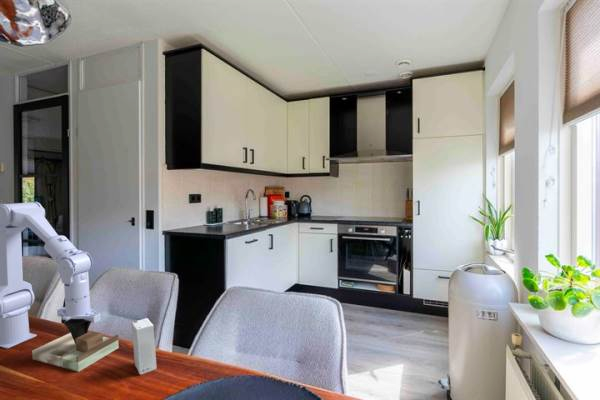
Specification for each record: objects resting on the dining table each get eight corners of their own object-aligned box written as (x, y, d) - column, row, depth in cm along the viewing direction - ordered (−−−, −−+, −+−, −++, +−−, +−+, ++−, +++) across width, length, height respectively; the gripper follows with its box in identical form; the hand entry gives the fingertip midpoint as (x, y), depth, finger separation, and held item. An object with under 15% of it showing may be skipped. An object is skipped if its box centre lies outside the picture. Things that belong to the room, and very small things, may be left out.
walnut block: (76, 350, 87) (75, 338, 87) (91, 342, 91) (91, 331, 91) (88, 353, 86) (87, 341, 85) (103, 345, 90) (102, 333, 90)
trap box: (32, 359, 88) (31, 345, 87) (75, 338, 99) (74, 325, 99) (78, 371, 82) (77, 356, 82) (118, 347, 93) (118, 334, 93)
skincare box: (157, 369, 83) (155, 324, 82) (138, 376, 80) (136, 330, 79) (151, 358, 87) (149, 316, 86) (133, 365, 84) (131, 321, 84)
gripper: (44, 298, 87) (47, 345, 88) (82, 305, 82) (85, 354, 83) (70, 290, 94) (73, 333, 95) (106, 295, 89) (108, 341, 90)
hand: (80, 342), depth 90 cm, fingers closed
